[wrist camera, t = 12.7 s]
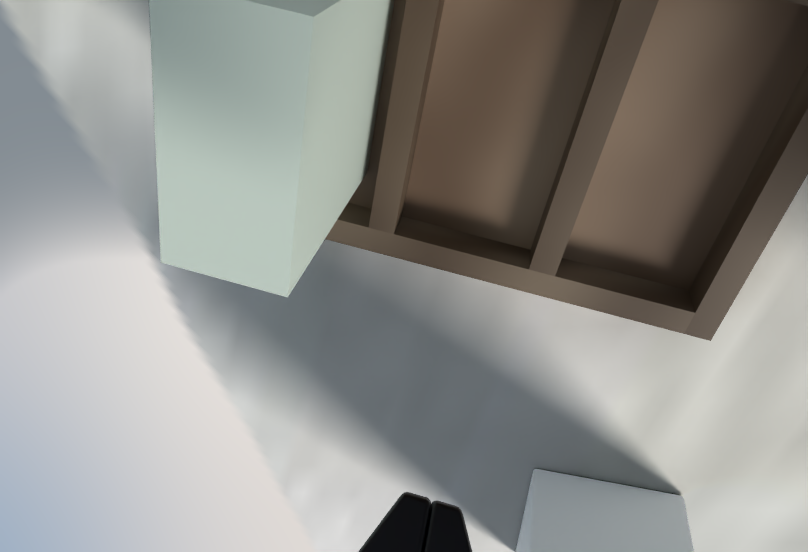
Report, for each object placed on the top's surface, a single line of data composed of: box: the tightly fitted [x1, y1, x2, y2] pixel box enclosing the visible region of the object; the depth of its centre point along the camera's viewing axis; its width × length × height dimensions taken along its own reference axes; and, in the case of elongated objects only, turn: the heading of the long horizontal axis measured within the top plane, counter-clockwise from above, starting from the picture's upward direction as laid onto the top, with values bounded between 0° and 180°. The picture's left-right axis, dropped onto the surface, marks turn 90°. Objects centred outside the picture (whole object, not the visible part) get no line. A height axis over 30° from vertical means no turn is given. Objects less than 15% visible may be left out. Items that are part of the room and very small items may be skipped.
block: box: [149, 0, 394, 297], centre depth 16 cm, size 3×6×7 cm, turn 170°
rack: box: [325, 0, 808, 341], centre depth 17 cm, size 16×11×4 cm, turn 80°
